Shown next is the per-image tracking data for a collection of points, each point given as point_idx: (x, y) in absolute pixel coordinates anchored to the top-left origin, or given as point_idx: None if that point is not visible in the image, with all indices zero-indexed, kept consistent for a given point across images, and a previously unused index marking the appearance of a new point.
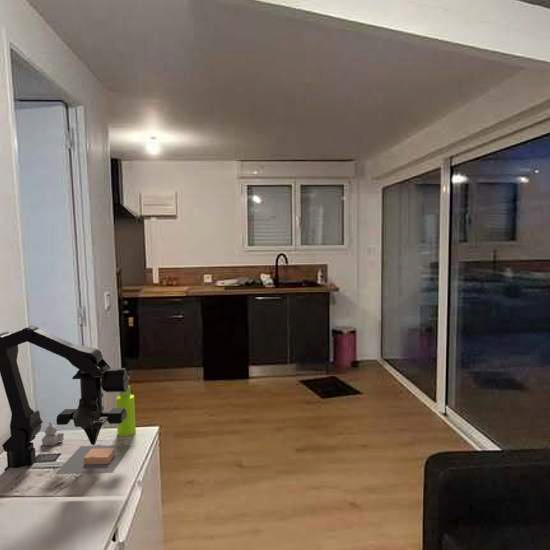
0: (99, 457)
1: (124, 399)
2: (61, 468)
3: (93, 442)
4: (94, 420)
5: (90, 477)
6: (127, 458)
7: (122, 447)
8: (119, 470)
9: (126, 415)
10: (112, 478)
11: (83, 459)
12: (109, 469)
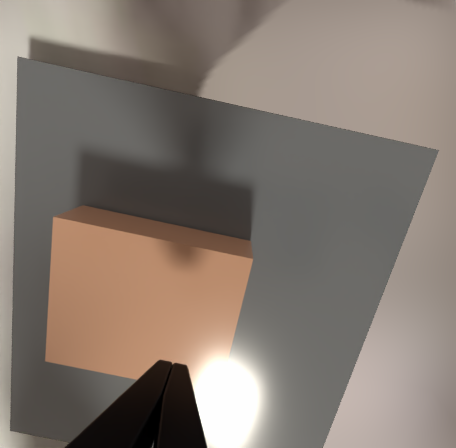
0: (123, 231)
1: None
2: (396, 224)
3: (154, 376)
4: None
5: (181, 72)
6: (4, 291)
7: (55, 415)
8: (6, 132)
9: None
10: (20, 11)
11: (265, 320)
12: (54, 119)
